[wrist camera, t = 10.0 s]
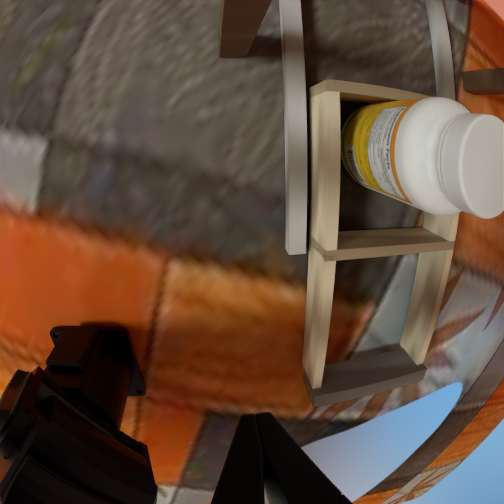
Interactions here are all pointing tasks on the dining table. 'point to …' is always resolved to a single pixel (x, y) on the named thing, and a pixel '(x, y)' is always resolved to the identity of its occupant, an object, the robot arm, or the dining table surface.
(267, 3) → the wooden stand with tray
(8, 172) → the dining table surface
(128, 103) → the dining table surface
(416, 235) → the wooden rack
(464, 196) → the supplement bottle
